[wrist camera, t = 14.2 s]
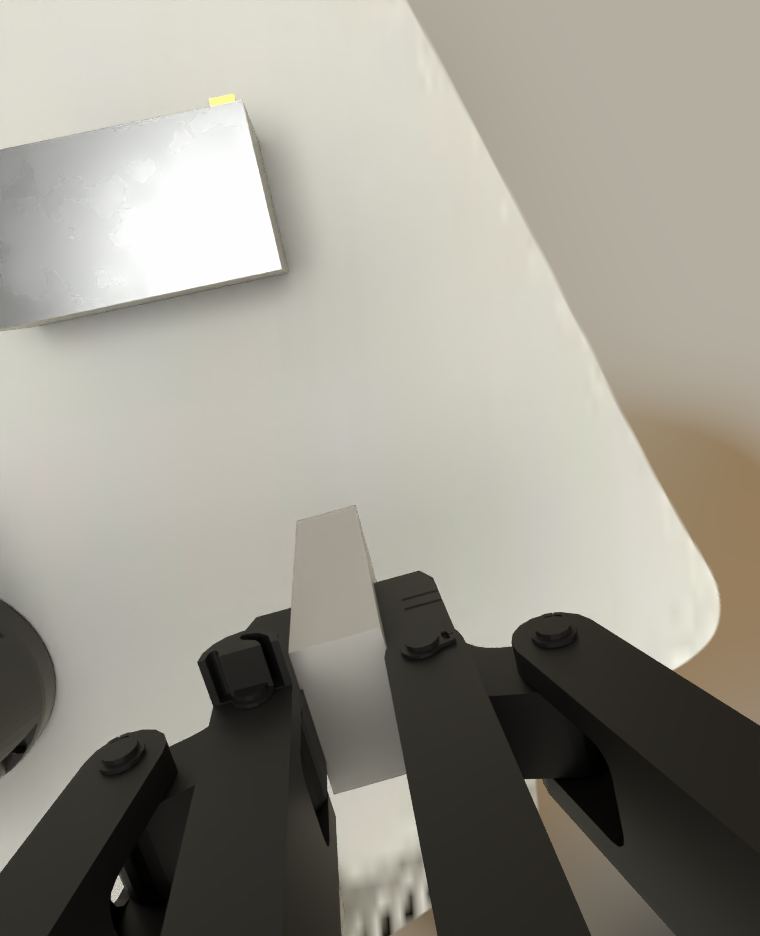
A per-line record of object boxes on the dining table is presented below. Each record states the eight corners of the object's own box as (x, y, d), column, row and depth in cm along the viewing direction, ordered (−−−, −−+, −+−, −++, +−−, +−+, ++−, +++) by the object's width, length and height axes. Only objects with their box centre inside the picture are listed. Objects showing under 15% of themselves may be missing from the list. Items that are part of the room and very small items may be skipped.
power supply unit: (39, 326, 44) (-30, 335, 36) (-9, 182, 42) (-94, 154, 33) (288, 272, 45) (281, 268, 36) (255, 127, 43) (238, 86, 34)
